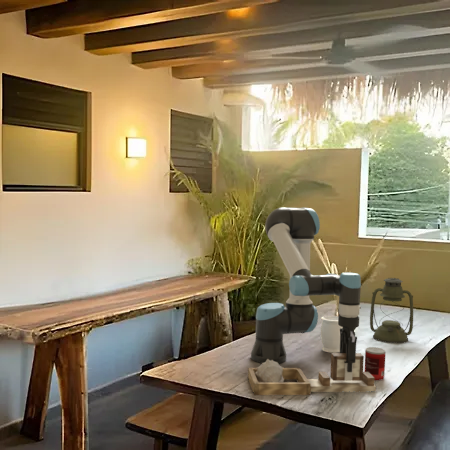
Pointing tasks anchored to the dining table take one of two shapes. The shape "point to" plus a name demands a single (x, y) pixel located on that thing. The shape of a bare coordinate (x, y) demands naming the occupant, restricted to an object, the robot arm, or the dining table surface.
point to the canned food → (375, 362)
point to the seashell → (269, 372)
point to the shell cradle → (281, 383)
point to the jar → (330, 334)
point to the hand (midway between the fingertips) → (346, 377)
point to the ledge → (342, 384)
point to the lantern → (389, 328)
